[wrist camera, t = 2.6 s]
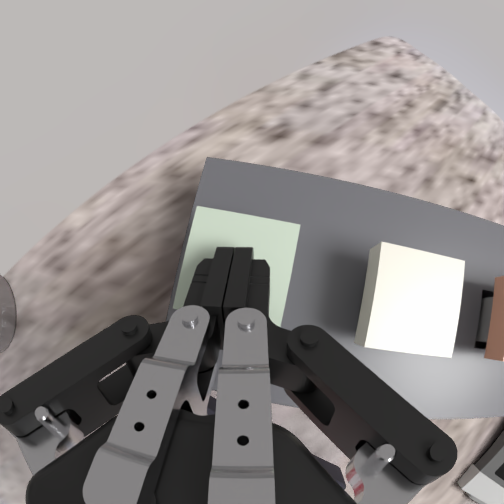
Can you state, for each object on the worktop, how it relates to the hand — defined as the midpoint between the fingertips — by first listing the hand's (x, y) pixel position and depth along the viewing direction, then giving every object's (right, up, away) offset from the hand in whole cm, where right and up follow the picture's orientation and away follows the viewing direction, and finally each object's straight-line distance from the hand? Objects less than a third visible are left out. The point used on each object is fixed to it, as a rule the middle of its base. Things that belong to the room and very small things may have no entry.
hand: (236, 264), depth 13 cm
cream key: (+9, -3, +6) cm, 11 cm away
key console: (+9, -4, +11) cm, 15 cm away
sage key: (0, -1, +6) cm, 7 cm away
